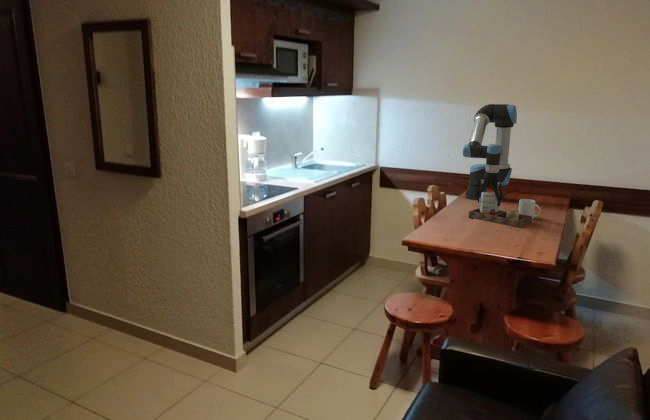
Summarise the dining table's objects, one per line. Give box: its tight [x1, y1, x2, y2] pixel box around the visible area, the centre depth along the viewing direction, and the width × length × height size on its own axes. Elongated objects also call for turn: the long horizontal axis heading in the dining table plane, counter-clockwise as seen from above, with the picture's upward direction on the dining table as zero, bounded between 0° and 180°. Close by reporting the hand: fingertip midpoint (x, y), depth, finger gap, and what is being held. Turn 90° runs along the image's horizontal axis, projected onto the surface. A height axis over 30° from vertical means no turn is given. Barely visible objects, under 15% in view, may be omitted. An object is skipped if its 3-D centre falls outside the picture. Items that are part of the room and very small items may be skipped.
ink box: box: [480, 191, 497, 214], centre depth 277 cm, size 9×5×12 cm, turn 84°
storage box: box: [468, 207, 533, 229], centre depth 274 cm, size 30×16×4 cm, turn 45°
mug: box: [517, 198, 542, 220], centre depth 277 cm, size 9×12×11 cm
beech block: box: [506, 209, 519, 221], centre depth 269 cm, size 6×6×6 cm
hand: (488, 209), depth 278 cm, fingers closed on ink box, 9 cm apart
